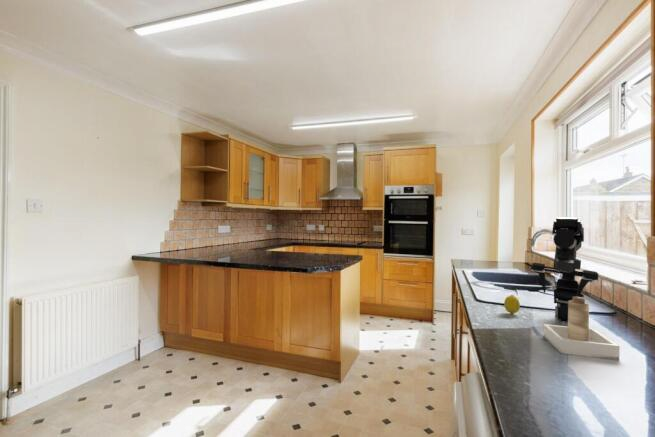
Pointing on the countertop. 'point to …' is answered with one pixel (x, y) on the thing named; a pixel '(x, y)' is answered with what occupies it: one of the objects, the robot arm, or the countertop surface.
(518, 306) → the lemon
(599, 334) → the bin
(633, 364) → the countertop surface
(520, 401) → the countertop surface
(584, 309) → the pepper mill
